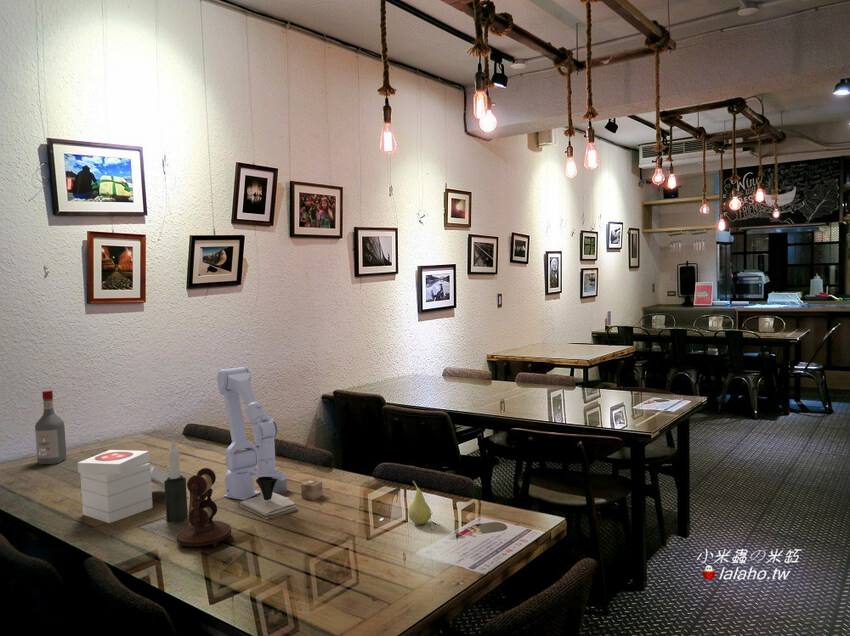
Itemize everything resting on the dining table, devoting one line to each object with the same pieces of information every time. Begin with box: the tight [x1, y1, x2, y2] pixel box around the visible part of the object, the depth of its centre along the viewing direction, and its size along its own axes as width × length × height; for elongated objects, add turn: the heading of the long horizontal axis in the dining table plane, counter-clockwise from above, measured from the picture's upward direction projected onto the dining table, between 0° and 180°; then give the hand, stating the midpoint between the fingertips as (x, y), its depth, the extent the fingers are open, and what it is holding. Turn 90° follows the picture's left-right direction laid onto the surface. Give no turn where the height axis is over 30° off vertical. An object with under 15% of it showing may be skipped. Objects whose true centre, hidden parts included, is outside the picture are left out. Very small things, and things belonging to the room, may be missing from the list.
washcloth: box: [239, 492, 298, 520], centre depth 204 cm, size 12×18×3 cm, turn 46°
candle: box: [164, 440, 189, 524], centre depth 195 cm, size 5×5×25 cm
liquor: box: [34, 389, 68, 465], centre depth 263 cm, size 9×9×30 cm
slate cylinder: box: [273, 475, 288, 495], centre depth 219 cm, size 5×5×5 cm
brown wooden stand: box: [176, 467, 232, 548], centre depth 179 cm, size 15×15×20 cm
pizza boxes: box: [77, 449, 170, 524], centre depth 209 cm, size 19×30×18 cm, turn 147°
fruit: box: [407, 480, 432, 525], centre depth 187 cm, size 7×8×12 cm
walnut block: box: [300, 479, 323, 501], centre depth 213 cm, size 5×5×5 cm
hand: (267, 499), depth 204 cm, fingers closed
